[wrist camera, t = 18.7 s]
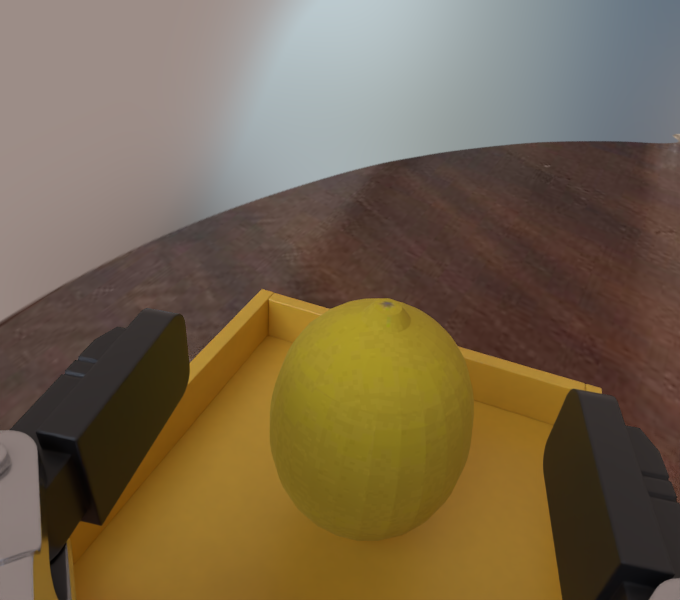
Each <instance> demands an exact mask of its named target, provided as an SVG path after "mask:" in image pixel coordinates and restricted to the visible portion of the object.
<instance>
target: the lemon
mask: <svg viewBox="0 0 680 600" xmlns="http://www.w3.org/2000/svg"><path fill="white" fill-rule="evenodd" d="M473 419H474V398H473V389H472V384H471V380H470V376H469V372H468V368H467V365H466V361H465V359H464V357H463V355H462V353H461V351H460V350H459V348H458V346H457V345H456V343H455V342H454V340H453V339H452V337H451V336H450V335H449V334H448V332H447V331H446V330H445V329H444V328H443V327H442V326H440V325H439V324H438V323H437V322H436V321H435V320H434V319H433V318H431V317H430V316H428V315H427V314H425V313H424V312H422V311H421V310H419V309H416V308H414V307H412V306H409V305H407V304H405V303H402V302H398V301H395V300H392V299H387V298H384V299H381V298H374V299H361V300H356V301H350V302H347V303H345V304H342V305H339V306H337V307H334V308H332V309H329V310H328V311H326V312H325V313H323V314H322V315H321V316H319V317H318V318H316V319H315V320H313V321H312V322H310V323H309V324H308V325H307V327H306V328H305V329H304V330H303V331H302V332H301V333H300V335H299V336H298V337H297V338H296V339H295V341H294V342H293V344H292V345H291V347H290V348H289V350H288V352H287V355H286V357H285V359H284V362H283V364H282V367H281V369H280V372H279V375H278V378H277V380H276V383H275V387H274V390H273V394H272V399H271V406H270V446H271V452H272V456H273V460H274V463H275V466H276V469H277V473H278V476H279V479H280V481H281V484H282V486H283V488H284V489H285V491H286V492H287V494H288V495H289V497H290V498H291V500H292V501H293V503H294V504H295V506H296V507H297V508H298V510H300V511H301V512H302V513H303V514H304V515H305V516H306V517H308V518H309V519H310V520H311V521H312V522H313V523H314V524H316V525H317V526H319V527H321V528H323V529H325V530H327V531H329V532H331V533H332V534H334V535H337V536H341V537H344V538H348V539H352V540H356V541H379V540H384V539H388V538H392V537H396V536H400V535H403V534H405V533H407V532H409V531H411V530H412V529H414V528H416V527H418V526H420V525H422V524H423V523H425V522H426V521H427V520H428V519H429V518H430V517H431V516H432V515H433V514H434V513H435V512H436V511H437V510H438V509H439V508H440V507H441V506H442V505H443V504H444V503H445V502H446V500H447V499H448V498H449V496H450V495H451V493H452V491H453V489H454V487H455V485H456V483H457V481H458V479H459V477H460V475H461V473H462V471H463V469H464V467H465V464H466V461H467V458H468V454H469V450H470V444H471V437H472V428H473Z"/></svg>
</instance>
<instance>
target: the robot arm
mask: <svg viewBox="0 0 680 600" xmlns="http://www.w3.org/2000/svg"><path fill="white" fill-rule="evenodd" d="M189 375H190V365H189V356H188V346H187V337H186V327H185V320H184V318H183V316H182V315H181V314H177V313H172V312H166V311H161V310H156V309H150V308H146V309H144V310H142V311H141V312H140V313H139V314H138V315H137V317H136V318H135V319H134V320H133V321H132V322H131V323H130V325H129V326H128V327H127V328H122V327H116V328H114V329H112V330H111V331H109V332H107V333H105V334H104V335H102V336H100V337H98V338H97V339H95V340H94V341H93V342H92V343H91V344H90V345H89V346H88V347H87V348H86V349H85V350H84V351H83V352H82V353H81V355H80V356H79V358H78V360H75V361H74V362H73V363H72V364H71V365H70V366H69V367H68V368H67V369H66V370H65V374H64V375H63V374H62V375H61V376H60V377H59V378H58V379H57V380H56V381H55V382H54V383H53V384H52V385H51V386H50V388H49V389H48V390H47V391H46V392H45V393H44V394H43V395H42V396H41V397H40V398H39V399H38V400H37V401H36V402H35V403H34V405H33V406H32V407H31V408H30V409H29V410H28V411H27V412H26V413H25V414H24V415H23V416H22V417H21V418H20V419H19V420H18V422H17V423H16V424H15V425H14V426H13V427H12V428H11V429H10V430H3V431H0V600H76V591H75V580H74V569H73V558H72V547H71V541H70V536H71V534H72V533H73V531H74V530H75V528H76V527H77V525H78V524H79V522H80V521H83V522H87V523H91V524H95V525H99V526H102V525H103V523H104V522H105V520H106V518H107V517H108V515H109V514H110V512H111V510H112V509H113V507H114V506H115V504H116V502H117V501H118V499H119V498H120V496H121V495H122V493H123V491H124V490H125V488H126V487H127V485H128V483H129V482H130V480H131V479H132V477H133V475H134V474H135V472H136V471H137V469H138V467H139V466H140V464H141V463H142V461H143V459H144V458H145V456H146V455H147V453H148V451H149V450H150V448H151V447H152V445H153V443H154V442H155V440H156V439H157V437H158V435H159V434H160V432H161V431H162V429H163V427H164V426H165V424H166V423H167V421H168V419H169V418H170V416H171V415H172V413H173V411H174V410H175V408H176V407H177V405H178V403H179V402H180V400H181V399H182V397H183V395H184V393H185V391H186V388H187V385H188V381H189ZM543 473H544V480H545V487H546V494H547V500H548V507H549V514H550V520H551V527H552V534H553V541H554V547H555V554H556V561H557V567H558V574H559V581H560V588H561V594H562V600H680V504H679V503H678V502H676V499H677V496H676V494H675V491H674V488H673V486H672V483H671V482H670V481H669V480H668V478H669V475H668V473H667V470H666V468H665V465H664V462H663V460H662V457H661V455H660V452H659V451H658V449H657V448H656V447H655V446H654V445H653V443H652V442H651V441H650V440H649V439H648V437H647V436H646V435H645V434H644V433H643V432H642V430H641V429H640V428H636V427H631V426H626V425H625V423H624V420H623V417H622V414H621V411H620V408H619V405H618V402H617V400H616V398H615V397H614V396H611V395H606V394H600V393H595V392H589V391H584V390H579V389H571V390H570V391H569V392H568V394H567V396H566V398H565V400H564V403H563V405H562V407H561V410H560V412H559V414H558V416H557V419H556V421H555V423H554V425H553V428H552V430H551V432H550V434H549V437H548V439H547V442H546V445H545V449H544V456H543Z"/></svg>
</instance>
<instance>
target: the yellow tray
mask: <svg viewBox="0 0 680 600" xmlns="http://www.w3.org/2000/svg"><path fill="white" fill-rule="evenodd" d="M328 310H329V309H328V308H325V307H321V306H318V305H314V304H311V303H307V302H304V301H301V300H297V299H294V298H290V297H287V296H283V295H280V294H277V293H273V292H271V291H267V290H264V289H262V290H261V291H260V292H259V293H258V294H257V295H256V296H255V297H254V298H253V299H252V300H251V301H250V302H249V303H248V304H247V305H246V306H245V307H244V308H243V309H242V310H241V311H240V312H239V313H238V314H237V315H236V316H235V317H234V318H233V319H232V320H231V321H230V322H229V323H228V324H227V325H226V326H225V327H224V329H223V330H222V331H221V332H220V333H219V334H218V335H217V336H216V337H215V338H214V339H213V340H212V341H211V342H210V343H209V344H208V345H207V346H206V347H205V348H204V349H203V350H202V351H201V352H200V353H199V354H198V355H197V356H196V357H195V358H194V359H193V360H192V361H191V362H190V363H189V365H190V375H189V381H188V385H187V388H186V391H185V393H184V395H183V397H182V399H181V400H180V402H179V403H178V405H177V407H176V408H175V410H174V411H173V413H172V415H171V416H170V418H169V419H168V421H167V423H166V424H165V426H164V427H163V429H162V431H161V432H160V434H159V435H158V437H157V439H156V440H155V442H154V443H153V445H152V447H151V448H150V450H149V451H148V453H147V455H146V456H145V458H144V459H143V461H142V463H141V464H140V466H139V467H138V469H137V471H136V472H135V474H134V475H133V477H132V479H131V480H130V482H129V483H128V485H127V487H126V488H125V490H124V491H123V493H122V495H121V496H120V498H119V499H118V501H117V502H116V504H115V506H114V507H113V509H112V510H111V512H110V514H109V515H108V517H107V518H106V520H105V522H104V523H103V525H102V526H99V525H95V524H91V523H87V522H83V521H80V522H79V524H78V525H77V527H76V528H75V530H74V531H73V533H72V534H71V536H70V541H71V547H72V558H73V569H74V580H75V591H76V600H562V594H561V588H560V581H559V574H558V567H557V561H556V554H555V547H554V541H553V534H552V527H551V520H550V514H549V507H548V500H547V494H546V487H545V480H544V473H543V456H544V449H545V445H546V442H547V439H548V437H549V434H550V432H551V430H552V428H553V425H554V423H555V421H556V419H557V416H558V414H559V412H560V410H561V407H562V405H563V403H564V400H565V398H566V396H567V394H568V392H569V391H570V390H571V389H579V390H584V391H589V392H595V393H600V394H602V389H601V388H599V387H595V386H592V385H588V384H586V385H585V384H584V383H582V382H578V381H575V380H571V379H568V378H565V377H561V376H558V375H554V374H551V373H547V372H544V371H541V370H537V369H534V368H530V367H527V366H523V365H520V364H517V363H513V362H510V361H506V360H503V359H499V358H496V357H493V356H489V355H486V354H482V353H479V352H475V351H472V350H469V349H465V348H462V347H458V348H459V350H460V351H461V353H462V355H463V357H464V359H465V361H466V365H467V368H468V372H469V376H470V380H471V384H472V389H473V398H474V419H473V428H472V437H471V444H470V450H469V454H468V458H467V461H466V464H465V467H464V469H463V471H462V473H461V475H460V477H459V479H458V481H457V483H456V485H455V487H454V489H453V491H452V493H451V495H450V496H449V498H448V499H447V500H446V502H445V503H444V504H443V505H442V506H441V507H440V508H439V509H438V510H437V511H436V512H435V513H434V514H433V515H432V516H431V517H430V518H429V519H428V520H427V521H426V522H425V523H423V524H422V525H420V526H418V527H416V528H414V529H412V530H411V531H409V532H407V533H405V534H403V535H400V536H396V537H392V538H388V539H384V540H379V541H356V540H352V539H348V538H344V537H341V536H337V535H334V534H332V533H331V532H329V531H327V530H325V529H323V528H321V527H319V526H317V525H316V524H314V523H313V522H312V521H311V520H310V519H309V518H308V517H306V516H305V515H304V514H303V513H302V512H301V511H300V510H298V508H297V507H296V506H295V504H294V503H293V501H292V500H291V498H290V497H289V495H288V494H287V492H286V491H285V489H284V488H283V486H282V484H281V481H280V479H279V476H278V473H277V469H276V466H275V463H274V460H273V456H272V452H271V446H270V406H271V399H272V394H273V390H274V387H275V383H276V380H277V378H278V375H279V372H280V369H281V367H282V364H283V362H284V359H285V357H286V355H287V352H288V350H289V348H290V347H291V345H292V344H293V342H294V341H295V339H296V338H297V337H298V336H299V335H300V333H301V332H302V331H303V330H304V329H305V328H306V327H307V325H308V324H309V323H310V322H312V321H313V320H315V319H316V318H318V317H319V316H321V315H322V314H323V313H325V312H326V311H328Z"/></svg>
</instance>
